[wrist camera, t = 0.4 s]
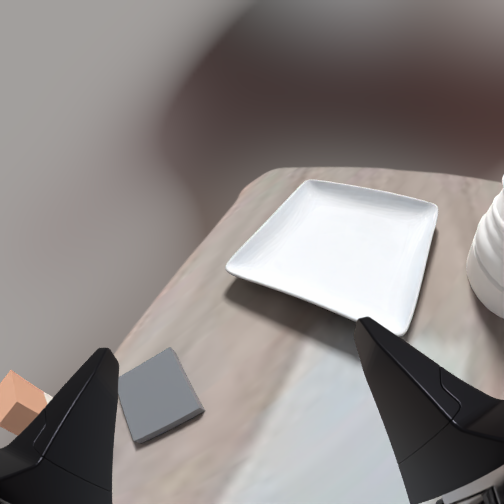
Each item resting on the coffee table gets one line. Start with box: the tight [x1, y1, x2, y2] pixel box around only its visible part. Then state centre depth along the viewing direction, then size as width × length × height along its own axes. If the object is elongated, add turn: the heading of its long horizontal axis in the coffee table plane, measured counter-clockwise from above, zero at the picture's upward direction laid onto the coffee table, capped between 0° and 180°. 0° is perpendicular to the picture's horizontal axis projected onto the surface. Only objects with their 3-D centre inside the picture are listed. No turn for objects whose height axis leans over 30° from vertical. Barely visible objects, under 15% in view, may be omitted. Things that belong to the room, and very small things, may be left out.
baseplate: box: [118, 347, 205, 443], centre depth 23 cm, size 8×8×1 cm
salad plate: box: [225, 180, 438, 337], centre depth 31 cm, size 21×21×3 cm
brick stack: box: [0, 370, 53, 435], centre depth 16 cm, size 4×4×13 cm
